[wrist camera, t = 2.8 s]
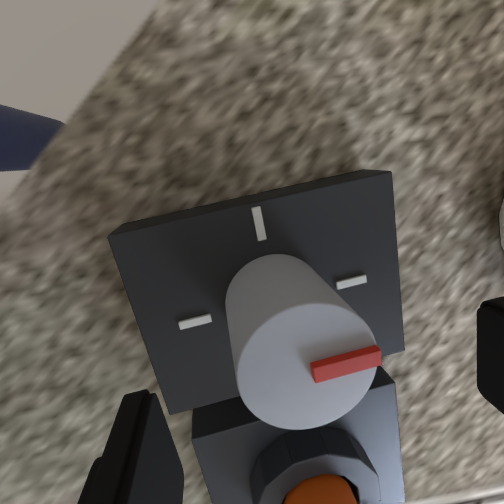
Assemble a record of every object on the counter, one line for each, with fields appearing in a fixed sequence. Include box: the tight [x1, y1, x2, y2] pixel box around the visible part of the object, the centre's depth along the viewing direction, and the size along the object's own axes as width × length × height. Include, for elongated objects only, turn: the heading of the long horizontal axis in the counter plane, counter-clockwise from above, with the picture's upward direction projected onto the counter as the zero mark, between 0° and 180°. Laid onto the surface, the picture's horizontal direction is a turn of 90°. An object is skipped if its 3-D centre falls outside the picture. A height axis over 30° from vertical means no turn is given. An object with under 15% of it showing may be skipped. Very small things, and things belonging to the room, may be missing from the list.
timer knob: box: [225, 254, 382, 430], centre depth 12 cm, size 4×4×5 cm
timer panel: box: [107, 169, 405, 415], centre depth 16 cm, size 12×9×3 cm
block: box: [191, 366, 405, 504], centre depth 18 cm, size 11×9×4 cm
